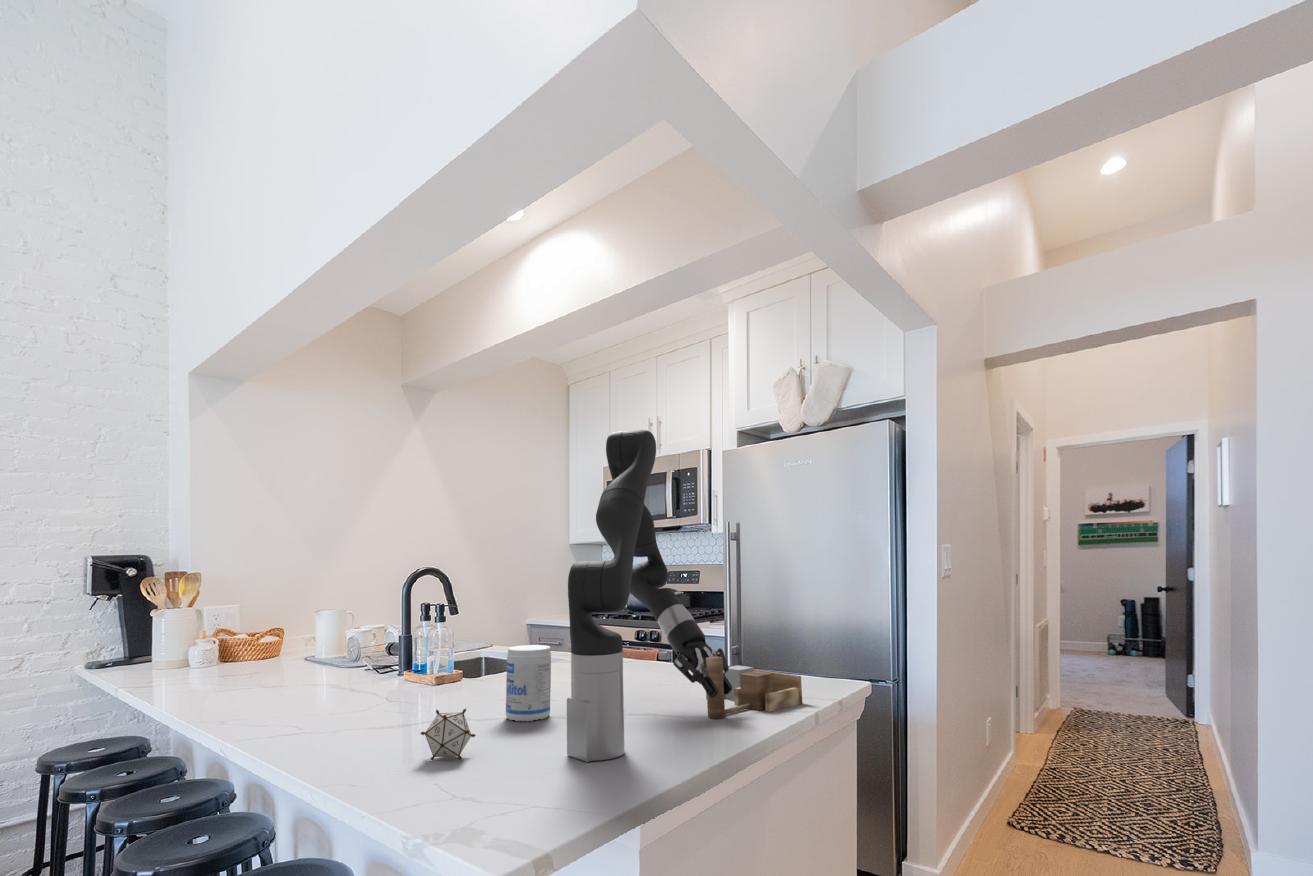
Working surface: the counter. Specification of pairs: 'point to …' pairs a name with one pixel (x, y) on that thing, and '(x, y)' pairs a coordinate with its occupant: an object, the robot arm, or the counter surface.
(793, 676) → the lane shelf
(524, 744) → the counter surface
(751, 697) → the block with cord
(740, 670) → the grey block
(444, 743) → the game die
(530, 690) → the supplement tub
